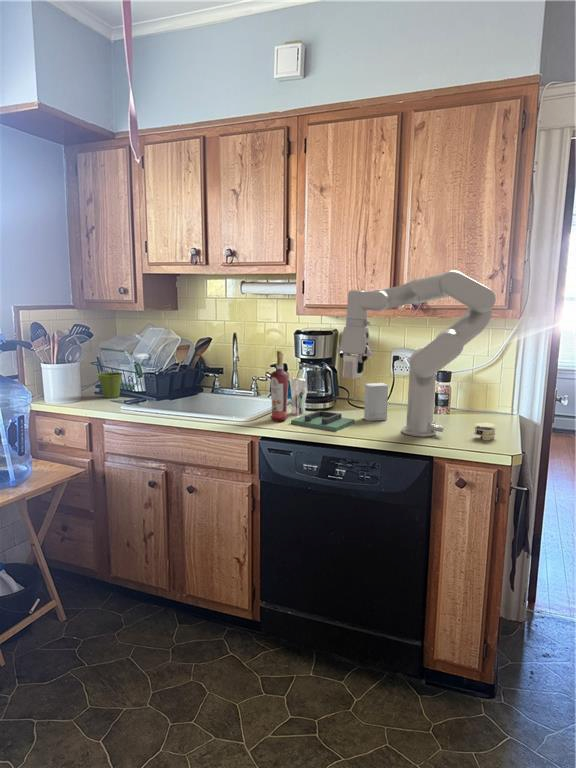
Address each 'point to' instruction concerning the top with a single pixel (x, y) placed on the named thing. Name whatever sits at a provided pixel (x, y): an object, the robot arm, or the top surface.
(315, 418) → the socket board
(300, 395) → the beer glass
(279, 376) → the liquor
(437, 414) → the top surface
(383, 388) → the skincare box
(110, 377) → the plant pot
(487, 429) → the stacked layers on plate
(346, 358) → the keyed plug
